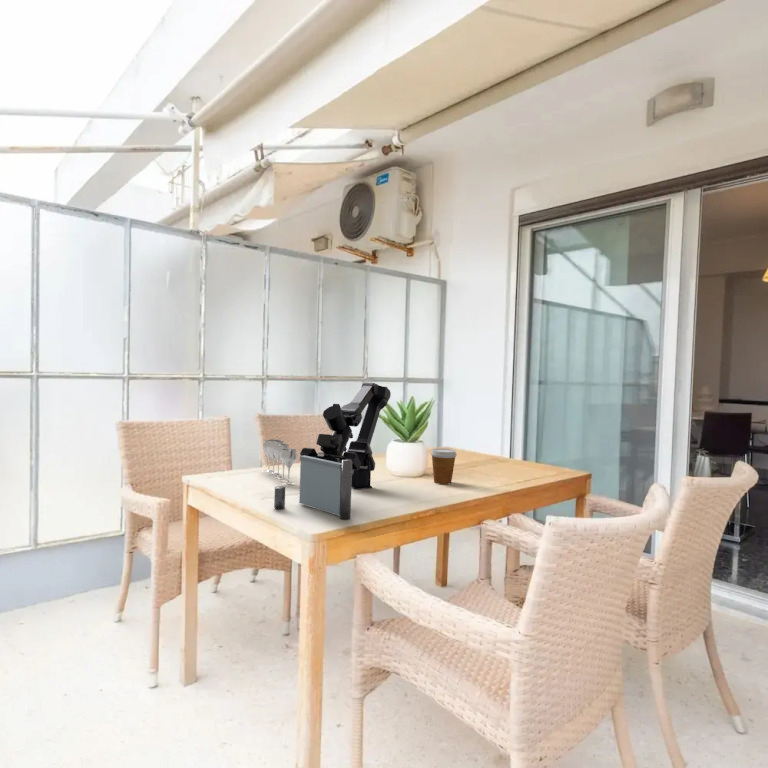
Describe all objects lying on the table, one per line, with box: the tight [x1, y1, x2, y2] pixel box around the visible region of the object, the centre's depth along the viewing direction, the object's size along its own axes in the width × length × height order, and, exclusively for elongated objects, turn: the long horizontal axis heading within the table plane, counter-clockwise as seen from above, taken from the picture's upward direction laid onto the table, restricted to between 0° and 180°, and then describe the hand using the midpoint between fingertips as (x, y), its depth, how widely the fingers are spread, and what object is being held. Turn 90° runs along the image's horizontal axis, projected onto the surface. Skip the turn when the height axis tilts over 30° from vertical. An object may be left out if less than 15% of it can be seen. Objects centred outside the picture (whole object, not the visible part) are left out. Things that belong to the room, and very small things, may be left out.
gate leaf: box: [298, 455, 342, 516], centre depth 150 cm, size 18×2×14 cm, turn 48°
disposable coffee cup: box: [430, 448, 457, 485], centre depth 192 cm, size 10×10×12 cm
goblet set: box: [262, 438, 298, 484], centre depth 192 cm, size 28×6×13 cm, turn 30°
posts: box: [273, 459, 352, 521], centre depth 147 cm, size 24×3×16 cm, turn 68°
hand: (320, 481), depth 154 cm, fingers closed
